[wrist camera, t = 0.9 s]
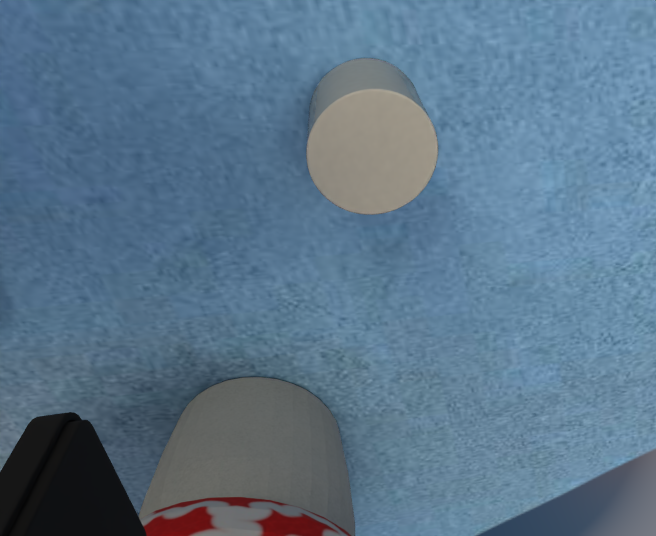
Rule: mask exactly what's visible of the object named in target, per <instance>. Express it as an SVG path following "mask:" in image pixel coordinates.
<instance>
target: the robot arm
mask: <svg viewBox="0 0 656 536" xmlns="http://www.w3.org/2000/svg"><path fill="white" fill-rule="evenodd" d="M0 536H147V534H146V531H145V529H144V527H143V525H142V523H141V521H140V519H139V517H138V515H137V513H136V511H135V509H134V507H133V505H132V503H131V501H130V499H129V497H128V495H127V493H126V491H125V489H124V487H123V485H122V483H121V481H120V479H119V477H118V475H117V473H116V471H115V469H114V467H113V465H112V463H111V461H110V459H109V457H108V455H107V453H106V451H105V449H104V447H103V445H102V443H101V441H100V439H99V437H98V435H97V433H96V431H95V429H94V427H93V426H92V424H91V423H90V422H89V421H88V420H81V418H80V417H79V415H77V414H76V413H72V412H69V413H62V414H55V415H48V416H40V417H36V418H34V419H32V421H31V422H30V423H29V424H28V426H27V427H26V429H25V431H24V433H23V434H22V436H21V438H20V439H19V441H18V443H17V444H16V446H15V448H14V449H13V451H12V453H11V455H10V456H9V458H8V460H7V461H6V463H5V465H4V466H3V468H2V470H1V472H0Z"/></svg>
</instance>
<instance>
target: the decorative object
mask: <svg viewBox="0 0 656 536" xmlns="http://www.w3.org/2000/svg"><path fill="white" fill-rule="evenodd" d="M139 519H140V521H141V523H142V525H143V527H144V529H145V531H146V534H147V536H355V520H354V512H353V505H352V498H351V490H350V483H349V476H348V470H347V465H346V460H345V456H344V451H343V446H342V442H341V437H340V432H339V429H338V426H337V422H336V420H335V418H334V417H333V415H332V413H331V412H330V410H329V409H328V408H327V407H326V406H325V405H324V404H323V403H322V402H321V401H320V400H319V399H318V398H317V397H316V396H314V395H313V394H311V393H310V392H308V391H307V390H305V389H303V388H301V387H299V386H296V385H294V384H292V383H289V382H285V381H281V380H278V379H272V378H263V377H245V378H238V379H233V380H227V381H225V382H222V383H219V384H216V385H214V386H212V387H210V388H208V389H206V390H205V391H203V392H201V393H200V394H198V395H197V396H196V397H195V398H194V399H193V400H192V401H191V402H190V403H189V404H188V405H187V407H186V408H185V410H184V411H183V413H182V414H181V416H180V418H179V420H178V422H177V424H176V426H175V429H174V431H173V433H172V435H171V437H170V439H169V441H168V443H167V445H166V447H165V449H164V451H163V453H162V456H161V459H160V461H159V464H158V466H157V469H156V471H155V474H154V476H153V479H152V481H151V484H150V486H149V489H148V491H147V494H146V496H145V499H144V501H143V504H142V507H141V510H140V513H139Z"/></svg>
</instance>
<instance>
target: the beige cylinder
mask: <svg viewBox="0 0 656 536" xmlns="http://www.w3.org/2000/svg"><path fill="white" fill-rule="evenodd" d="M437 158H438V141H437V135H436V132H435V128H434V126H433V124H432V122H431V120H430V118H429V116H428V114H427V112H426V110H425V108H424V106H423V104H422V102H421V100H420V98H419V95H418V93H417V91H416V89H415V87H414V85H413V84H412V82H411V81H410V79H409V78H408V77H407V76H406V75H405V74H404V73H403V72H402V71H401V70H400V69H399V68H397V67H395V66H394V65H392V64H390V63H388V62H386V61H382V60H379V59H373V58H360V59H354V60H350V61H347V62H345V63H342V64H340V65H338V66H337V67H335V68H333V69H332V70H331V71H330V72H328V73H327V74H326V75H325V76H324V77H323V78H322V80H321V81H320V82H319V84H318V85H317V87H316V89H315V91H314V93H313V95H312V98H311V102H310V108H309V119H308V134H307V149H306V159H307V166H308V170H309V173H310V176H311V178H312V180H313V182H314V184H315V185H316V187H317V189H318V190H319V191H320V192H321V194H322V195H323V196H324V197H326V198H327V199H328V200H329V201H330V202H332V203H333V204H334V205H336V206H338V207H340V208H342V209H344V210H347V211H350V212H354V213H358V214H372V215H373V214H382V213H386V212H390V211H393V210H396V209H398V208H400V207H402V206H404V205H406V204H407V203H409V202H410V201H412V200H413V199H414V198H415V197H416V196H418V195H419V194H420V192H421V191H422V190H423V189H424V188H425V186H426V185H427V184H428V182H429V180H430V179H431V177H432V175H433V172H434V170H435V167H436V163H437Z"/></svg>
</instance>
